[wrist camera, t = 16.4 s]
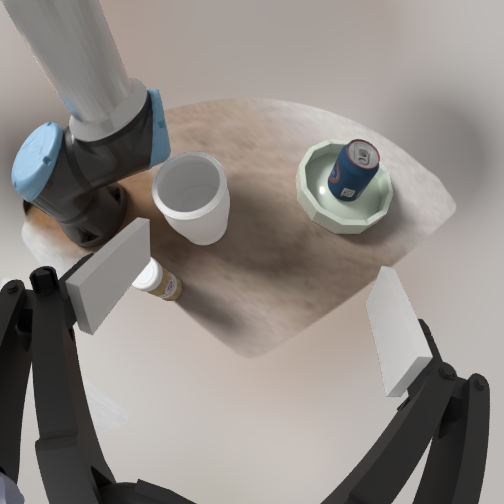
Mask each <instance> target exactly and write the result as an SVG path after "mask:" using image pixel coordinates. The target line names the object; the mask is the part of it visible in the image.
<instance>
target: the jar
mask: <svg viewBox="0 0 504 504" xmlns="http://www.w3.org/2000/svg"><path fill="white" fill-rule="evenodd" d="M152 196H153V199H154V202H155V204H156V205H157V207H158V208H159V210H160V211H161V212H162V213H163V214H164V216H165V218H166V220H167V221H168V223H169V224H170V225H171V226H172V227H173V228H174V229H175V230H176V231H177V232H178V233H180V234H182V235H183V236H185V237H186V238H187V239H188V240H189V241H191V242H192V243H194V244H197V245H210V244H212V243H215V242H216V241H218V240H219V239H220V238H221V237H222V236H223V235H224V233H225V231H226V228H227V219H228V215H229V210H230V196H229V191H228V188H227V179H226V174H225V171H224V168H223V167H222V165H221V164H220V162H219V161H218V160H217V159H215V158H214V157H212V156H211V155H209V154H206V153H203V152H196V151H192V152H184V153H181V154H178V155H176V156H174V157H172V158H170V159H169V160H167V161H166V162H165V163H164V164H163V165H162V166H161V167H160V168H159V170H158V171H157V173H156V175H155V177H154V180H153V183H152Z"/></svg>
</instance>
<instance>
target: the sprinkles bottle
mask: <svg viewBox="0 0 504 504" xmlns="http://www.w3.org/2000/svg"><path fill="white" fill-rule="evenodd" d="M132 285H133V286H134V287H135V288H137V289H139V290H141V291H145V292H148V293H150V294H153V295H155V296H158V297H160V298H162V299H164V300H167V301H173V300H175V299H177V298H178V297H179V296H180V294H181V292H182V284H181V281H180V280H179V279H178V278H177V277H175V276H174V275H173V274H171V273H170V272H169V271H168V270H166V269H165V268H164V267H162V266H161V265H160V264H159V263H158V262H157V261H156V260H155V259H153V258H152V257H151V261H150V262H149V264H148V265H147V266H146V267H145V268H144V270H143V271H142V272H141V273H140V275H139V276H138V277H137V278H136V279H135V281H134V282H133V283H132Z"/></svg>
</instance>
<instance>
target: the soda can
mask: <svg viewBox="0 0 504 504" xmlns="http://www.w3.org/2000/svg"><path fill="white" fill-rule="evenodd" d="M379 161H380V156H379V153H378V151H377V149H376V148H375V147H374V146H373V145H372V144H371V143H369V142H367V141H365V140H361V139H356V140H352V141H350V142H349V143H348V144H346V145H345V146H343V148H342V149H341V151H340V153H339V156H338V158H337V160H336V162H335V164H334V166H333V169H332V171H331V173H330V175H329V177H328V188H329V190H330V192H331V193H332V195H333V196H334V197H335V198H337V199H339V200H341V201H345V202H350V201H354V200H356V199H358V198H359V197H360V195H361V194H362V193H363V191H364V190H365V188H366V187H367V186H368V184H369V183H370V181H371V180H372V179H373V177H374V176H375V175H376V173H377V172H378V170H379Z"/></svg>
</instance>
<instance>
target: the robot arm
mask: <svg viewBox="0 0 504 504" xmlns="http://www.w3.org/2000/svg"><path fill="white" fill-rule="evenodd" d="M2 2H3V4H4V6H5V8H6V10H7V12H8V13H9V15H10V17H11V19H12V21H13V22H14V24H15V26H16V28H17V29H18V31H19V33H20V35H21V36H22V38H23V40H24V42H25V43H26V45H27V47H28V48H29V50H30V51H31V53H32V55H33V56H34V58H35V60H36V61H37V63H38V64H39V66H40V68H41V69H42V71H43V72H44V74H45V75H46V77H47V78H48V80H49V82H50V83H51V85H52V86H53V88H54V89H55V91H56V92H57V94H58V95H59V96H60V98H61V99H62V101H63V102H64V104H65V105H66V107H67V108H68V110H69V111H70V112H71V114H72V115H71V118H70V122H69V126H68V127H66V128H64V129H62V128H61V126H60V125H59V124H56V123H52V122H49V123H45V124H43V125H42V126H40V127H39V128H37V129H36V130H35V131H34V132H33V133H32V134H31V135H30V136H29V137H28V138H27V139H26V141H25V142H24V144H23V145H22V147H21V149H20V150H19V152H18V154H17V156H16V159H15V162H14V165H13V169H12V183H13V186H14V188H15V190H16V191H17V192H18V193H19V194H20V195H22V196H23V197H24V199H25V200H26V201H28V202H30V203H31V204H32V205H34V206H35V207H37V208H38V209H40V210H41V211H43V212H44V213H46V214H48V215H49V216H51V217H52V218H54V219H55V220H57V221H58V222H59V224H60V226H61V227H62V229H63V231H64V233H65V234H66V236H67V237H68V238H69V239H70V240H71V241H73V242H74V243H76V244H78V245H80V246H82V247H95V246H98V245H101V244H103V243H104V242H106V241H107V240H109V239H110V238H111V237H112V236H113V235H114V234H115V233H116V231H117V230H118V229H119V227H120V225H121V224H122V221H123V219H124V216H125V213H126V206H127V201H126V195H125V193H124V190H123V189H122V187H121V186H120V185H119V184H118V183H117V181H119V180H122V179H124V178H127V177H129V176H132V175H135V174H137V173H140V172H143V171H145V170H149V169H151V168H152V167H153V166H156V165H158V164H160V163H163V162H165V161H166V160H167V159H168V158H169V156H170V152H171V149H170V142H169V137H168V131H167V126H166V123H165V117H164V111H163V106H162V101H161V97H160V93H159V90H158V89H148V90H147V89H146V87H145V85H144V84H143V82H142V81H140V80H138V79H136V78H130V77H129V76H128V74H127V71H126V69H125V67H124V64H123V62H122V59H121V57H120V54H119V52H118V49H117V47H116V44H115V42H114V39H113V37H112V34H111V32H110V29H109V26H108V24H107V21H106V18H105V16H104V13H103V10H102V8H101V5H100V2H99V0H2ZM150 261H151V257H150V225H149V219H145V218H139V217H138V218H136V219H135V220H134V221H133V222H131V223H130V224H129V225H128V226H127V227H125V228H124V229H123V230H122V231H121V232H119V233H118V234H117V235H116V236H115V237H114V238H112V239H111V240H110V241H109V242H108V243H107V244H105V245H104V246H103V247H102V248H101V249H100V250H99V251H98V252H96V253H95V254H93V253H91V254H89V255H87V256H85V257H83V258H82V259H81V260H79V261H78V262H77V264H75V265H74V266H73V267H72V269H69V270H68V271H67V272H66V273H65V274H64V275H63V276H62V277H61V278H60V279H59V280H58V278H57V274H56V270H55V269H54V268H53V267H50V266H43V267H40V268H37V269H36V270H34V271H33V272H32V273H31V274H30V277H29V278H30V281H31V284H32V287H33V290H28V289H25V286H24V283H23V282H22V281H21V280H17V279H16V280H11V281H9V282H8V283H6V284H5V285H4V286H3V288H2V289H1V291H0V504H24V497H23V495H22V494H21V493H20V491H19V489H18V486H17V481H18V474H19V463H20V442H21V428H22V418H23V409H24V402H25V395H26V389H27V383H28V378H29V373H30V368H31V363H32V371H33V387H34V398H35V407H36V415H37V421H38V428H39V435H40V438H39V440H37V441H36V442H35V450H36V455H37V461H38V465H39V469H40V473H41V477H42V481H43V484H44V488H45V491H46V494H47V497H48V500H49V504H196V503H194V502H192V501H190V500H188V499H186V498H184V497H182V496H180V495H178V494H177V493H175V492H173V491H171V490H169V489H166V488H163V487H160V486H157V485H154V484H151V483H148V482H145V481H143V480H140V479H138V481H137V483H130V482H129V483H128V482H123V483H116V481H115V478H114V476H113V474H112V472H111V470H110V468H109V467H108V465H107V463H106V461H105V459H104V456H103V454H102V451H101V448H100V445H99V442H98V439H97V435H96V432H95V429H94V426H93V422H92V418H91V415H90V411H89V407H88V403H87V399H86V395H85V391H84V386H83V381H82V376H81V371H80V367H79V360H78V354H77V348H76V341H75V333H74V329H73V325H74V324H75V322H76V321H77V323H78V326H79V329H80V330H81V331H83V332H86V333H88V334H91V335H93V334H94V333H95V331H96V330H97V329H98V327H99V326H100V325H101V323H102V322H103V320H104V319H105V318H106V317H107V315H108V313H110V311H111V310H112V309H113V307H114V306H115V305H116V303H117V302H118V301H119V300H120V298H121V297H122V296H123V295H124V293H125V292H126V291H127V289H128V288H129V287H130V286H131V284H132V283H133V282H134V281H135V279H136V278H137V277H138V276H139V275H140V273H141V272H142V271H143V270H144V268H145V267H146V266H147V265H148V264H149V262H150ZM365 306H366V309H367V313H368V317H369V321H370V325H371V329H372V333H373V337H374V341H375V345H376V349H377V354H378V359H379V363H380V368H381V373H382V378H383V383H384V388H385V394H386V397H401V395H402V394H403V393H404V392H405V391H406V390H408V395H409V396H408V398H407V399H406V400H405V401H404V402H403V403H402V404H401V405H400V406H399V407H398V408H397V410H398V412H397V413H396V415H395V416H394V418H393V419H392V421H391V422H390V423H389V425H388V426H387V428H386V429H385V430H384V432H383V433H382V434H381V436H380V437H379V438H378V440H377V441H376V443H375V444H374V445H373V446H372V448H371V449H370V450H369V451H368V453H367V454H366V455H365V456H364V458H363V459H362V460H361V461H360V462H359V464H358V465H357V466H356V467H355V468H354V469H353V470H352V472H351V473H350V474H349V475H348V476H347V477H346V478H345V479H344V480H343V482H342V483H341V484H340V485H339V486H338V487H337V488H336V489H335V490H334V491H333V492H332V493H331V494H330V495H329V496H328V497H327V498H326V499H325V500H324V501H323V502H322V503H321V504H391V503H392V502H393V501H394V499H395V498H396V496H397V495H398V494H399V492H400V491H401V489H402V488H403V486H404V485H405V483H406V482H407V480H408V479H409V477H410V475H411V474H412V472H413V471H414V469H415V467H416V465H417V464H418V462H419V460H420V459H421V457H422V455H423V453H424V452H425V450H426V448H427V446H428V444H429V442H430V440H431V438H432V437H433V438H432V442H431V446H430V451H429V454H428V458H427V462H426V465H425V468H424V472H423V475H422V478H421V481H420V484H419V487H418V490H417V493H416V495H415V498H414V501H413V503H412V504H478V502H479V498H480V493H481V488H482V483H483V477H484V472H485V464H486V457H487V448H488V436H489V418H490V417H489V416H490V389H489V384H488V382H487V380H486V379H485V377H483V376H482V375H480V374H477V373H475V374H472V375H471V377H470V378H469V379H468V380H466V379H463V378H460V377H457V374H456V371H455V370H454V368H453V367H452V366H451V365H449V364H448V363H446V362H443V361H442V359H441V356H440V354H439V351H438V348H437V346H436V344H435V342H434V339H433V337H432V336H431V332H430V330H429V327H428V326H427V324H426V323H425V322H424V321H423V320H422V319H417V317H416V314H415V312H414V310H413V307H412V305H411V303H410V301H409V299H408V297H407V294H406V292H405V290H404V288H403V286H402V284H401V282H400V280H399V278H398V276H397V274H396V272H395V270H394V268H392V267H387V266H382V267H381V269H380V271H379V274H378V276H377V279H376V281H375V283H374V286H373V288H372V290H371V292H370V295H369V297H368V299H367V301H366V304H365Z"/></svg>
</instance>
